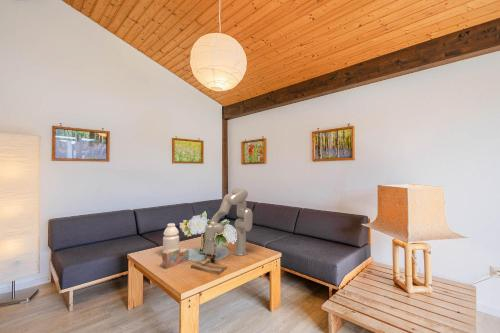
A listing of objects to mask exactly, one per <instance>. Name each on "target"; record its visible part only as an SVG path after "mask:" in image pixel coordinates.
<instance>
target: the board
mask: <svg viewBox="0 0 500 333" xmlns="http://www.w3.org/2000/svg"><path fill="white" fill-rule="evenodd" d="M203 261H204V260H197V261H196V262H194V263H193V264H191V265H190V269H193V270H194V269H195V270H196V271H197V270H198V271H202V272H206V273H210V274H214V275H220V274H222V273H224V271H226V270H227V265H223V264H217V263H215V262H213V263H209V262H207V263H206V264H204V265H203V264H201V262H203Z"/></svg>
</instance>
